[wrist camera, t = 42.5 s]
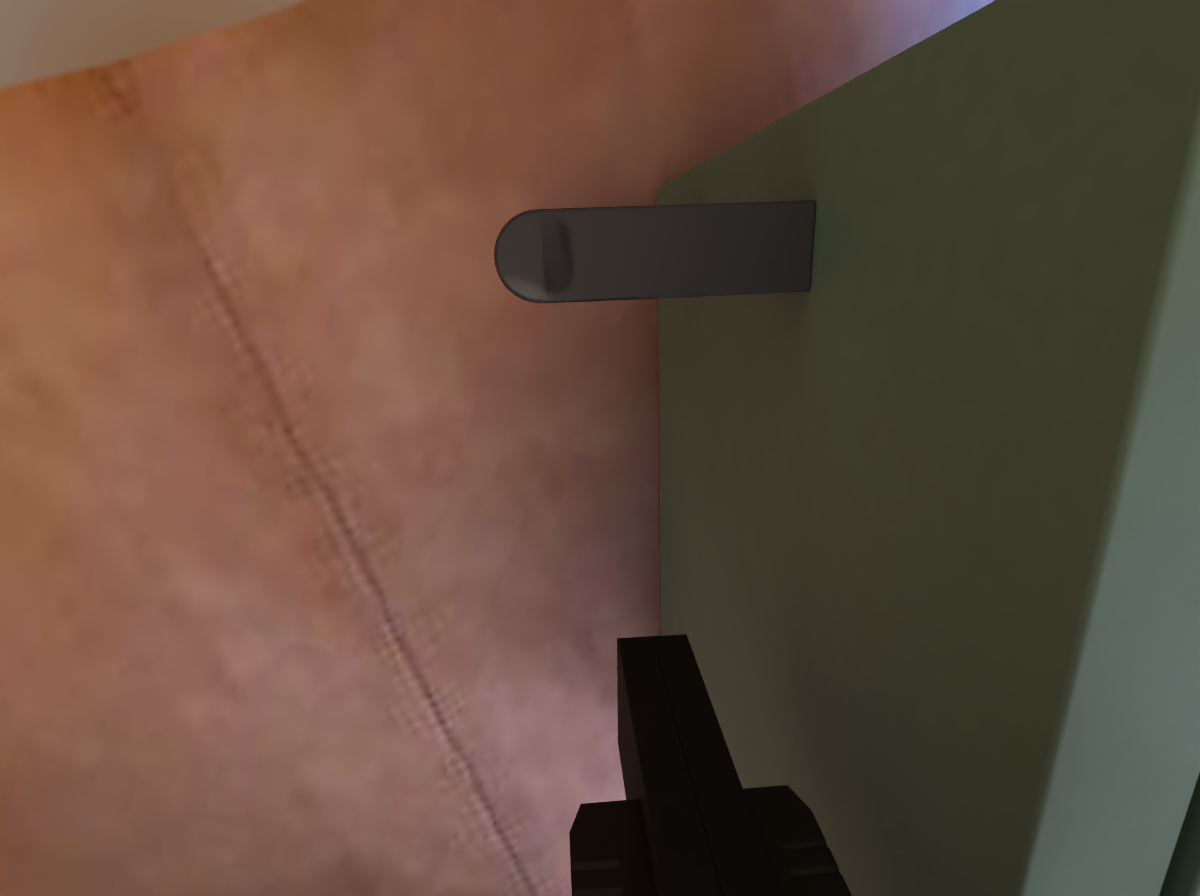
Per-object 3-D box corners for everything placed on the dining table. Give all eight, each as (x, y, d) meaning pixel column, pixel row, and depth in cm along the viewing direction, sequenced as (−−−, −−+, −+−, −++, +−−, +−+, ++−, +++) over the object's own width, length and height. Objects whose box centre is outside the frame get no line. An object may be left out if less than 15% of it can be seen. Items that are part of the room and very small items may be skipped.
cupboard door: (558, 729, 35) (579, 1609, 12) (520, 190, 26) (364, -163, 4) (692, 717, 35) (947, 1541, 13) (698, 184, 27) (1513, -154, 4)
